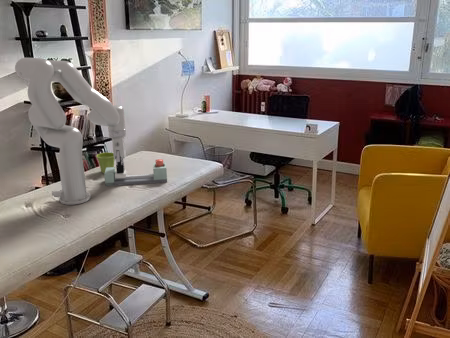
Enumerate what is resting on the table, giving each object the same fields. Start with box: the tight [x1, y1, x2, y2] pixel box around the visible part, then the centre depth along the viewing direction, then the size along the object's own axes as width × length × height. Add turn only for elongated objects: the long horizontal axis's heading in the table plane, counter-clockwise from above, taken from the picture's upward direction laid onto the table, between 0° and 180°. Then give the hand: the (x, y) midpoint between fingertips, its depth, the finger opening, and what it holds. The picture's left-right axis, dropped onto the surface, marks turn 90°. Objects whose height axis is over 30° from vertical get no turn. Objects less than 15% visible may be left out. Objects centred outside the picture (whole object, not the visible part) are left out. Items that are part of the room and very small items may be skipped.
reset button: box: [154, 158, 164, 167], centre depth 209 cm, size 4×4×3 cm
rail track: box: [103, 161, 168, 187], centre depth 209 cm, size 28×9×7 cm, turn 99°
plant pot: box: [95, 152, 115, 174], centre depth 222 cm, size 9×9×9 cm
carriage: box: [115, 160, 128, 178], centre depth 207 cm, size 5×6×7 cm
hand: (120, 171), depth 207 cm, fingers closed on carriage, 3 cm apart
